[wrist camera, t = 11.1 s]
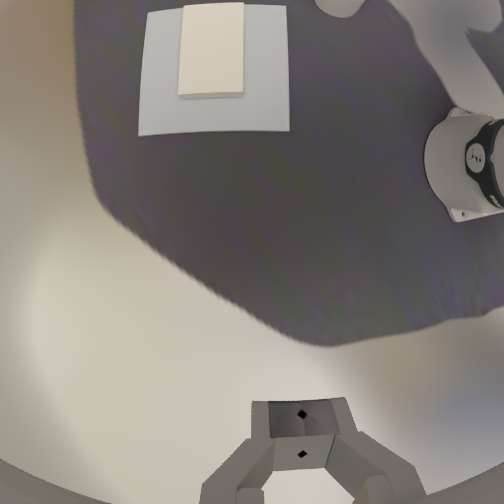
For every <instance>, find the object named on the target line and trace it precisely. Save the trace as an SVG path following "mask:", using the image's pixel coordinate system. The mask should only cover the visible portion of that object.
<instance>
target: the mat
mask: <svg viewBox="0 0 504 504" xmlns="http://www.w3.org/2000/svg"><path fill="white" fill-rule="evenodd" d="M183 12H184V8H178V9H170V10H163V11H156V12H150V13H148V17H147V25H146V33H145V42H144V51H143V61H142V73H141V88H140V106H139V136H140V137H142V136H152V135H164V134H178V133H196V132H225V131H273V132H289V131H290V127H289V73H288V43H287V20H286V6H276V5H244V30H243V97H216V98H195V99H181V98H180V96H179V95H178V85H179V65H180V48H181V35H182V23H183Z"/></svg>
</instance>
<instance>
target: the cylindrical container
mask: <svg viewBox="0 0 504 504" xmlns="http://www.w3.org/2000/svg"><path fill="white" fill-rule="evenodd" d="M314 1H315V3H316V5H317V6H318V7H319V8H320V9H321V10H322V11H324V12H325V13H327V14H329V15H331V16H334V17H339V18H347V17H350V16H352V15H354V14H355V13H356V12H357V10H358V9H359V8H360V6H361V5H362V4H363V2H364V1H365V0H314Z"/></svg>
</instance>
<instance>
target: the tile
mask: <svg viewBox="0 0 504 504" xmlns="http://www.w3.org/2000/svg"><path fill="white" fill-rule="evenodd" d="M243 30H244V3H213V4H198V5H187V6H184V12H183V23H182V35H181V48H180V65H179V85H178V95H179V96H180V98H181V99H195V98H216V97H243Z"/></svg>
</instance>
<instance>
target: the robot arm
mask: <svg viewBox="0 0 504 504" xmlns="http://www.w3.org/2000/svg"><path fill="white" fill-rule="evenodd" d="M424 162H425V170H426V175H427V178H428V181H429V183H430V186H431V188H432V190H433V191H434V193H435V194H436V196H437V197H438V198H439V199H440V200H441V201H442V202H443V203H444V205H445V206H446V208H447V210H448V213H449V215H450V217H451V219H452V220H453V221H454V222H462V221H467V220H471V219H476V218H480V217H484V216H489V215H493V214H497V213H502V212H504V119H497V120H494V118H493V117H491V116H487V114H486V113H473V114H469V113H467V112H466V111H464V110H462V109H460V108H458V107H456V108H452V109H451V110H450V112H449V113H448V115H447V117H446V119H445V120H444V121H442V122H441V123H439V124H438V125H436V126H435V127H434V128H433V130H432V131H431V133H430V135H429V137H428V139H427V142H426V146H425V154H424ZM462 212H463V214H462ZM251 413H252V414H251V439H246V440H245V441H244V442H243V443H242V444H241V445H240V446H239V447H238V448H237V449H236V450H235V452H234V453H233V454H232V455H231V456H230V457H229V458H228V459H227V460H226V461H225V462H224V463H223V464H222V465H221V466H220V467H219V468H218V469H217V470H216V471H215V472H214V473H213V474H212V475H211V476H210V477H209V478H208V479H207V480H206V481H205V482H204V483H203V484H202V489H201V495H200V502H199V504H264V491H262V490H261V488H262V486H263V485H264V484H265V482H266V481H267V480H268V478H269V477H270V475H271V474H272V471H284V470H296V469H315V468H325V469H326V470H327V471H328V472H329V473H330V475H331V476H332V477H333V478H334V479H335V480H337V482H338V483H339V484H340V485H341V486H342V487H343V488H344V489H346V491H347V492H348V493H350V494H351V495H352V496H353V497H354V498H355V500H354V501H353V503H352V504H504V462H503V463H501V464H499V465H497V466H495V467H493V468H491V469H489V470H487V471H485V472H483V473H481V474H479V475H477V476H474V477H472V478H470V479H468V480H466V481H463V482H461V483H458V484H456V485H454V486H451V487H448V488H446V489H443V490H441V491H438V492H435V493H432V494H430V495H426V493H425V490H424V488H423V486H422V483H421V481H420V478H419V476H418V474H417V471H416V469H415V467H414V466H413V465H412V464H410V463H409V462H407V461H406V460H404V459H402V458H401V457H399V456H398V455H396V454H395V453H393V452H392V451H390V450H389V449H387V448H386V447H384V446H383V445H381V444H380V443H378V442H377V441H375V440H374V439H372V438H371V437H369V436H368V435H367V434H365V433H364V432H362V431H361V432H358V431H357V428H356V426H355V423H354V420H353V417H352V414H351V411H350V409H349V406H348V403H347V400H346V398H344V397H340V398H331V399H319V400H303V401H252V410H251ZM0 504H110V503H107V502H103V501H100V500H97V499H93V498H90V497H87V496H84V495H81V494H78V493H75V492H73V491H70V490H67V489H65V488H62V487H59V486H57V485H54V484H52V483H49V482H47V481H45V480H42V479H40V478H38V477H36V476H33V475H31V474H29V473H27V472H25V471H23V470H21V469H19V468H17V467H15V466H13V465H11V464H9V463H7V462H5V461H4V460H2V459H0Z"/></svg>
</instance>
